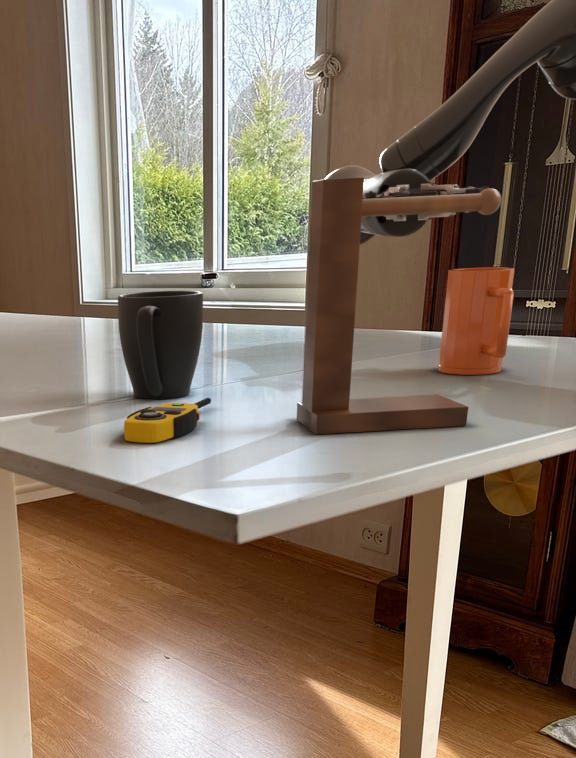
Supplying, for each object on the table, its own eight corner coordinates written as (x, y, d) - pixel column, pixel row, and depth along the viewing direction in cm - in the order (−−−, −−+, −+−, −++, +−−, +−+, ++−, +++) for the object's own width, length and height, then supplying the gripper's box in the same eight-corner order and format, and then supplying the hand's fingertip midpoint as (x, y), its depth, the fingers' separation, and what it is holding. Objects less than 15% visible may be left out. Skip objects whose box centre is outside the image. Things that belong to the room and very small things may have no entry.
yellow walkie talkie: (110, 417, 72) (184, 386, 84) (111, 441, 73) (185, 407, 85) (166, 420, 70) (234, 388, 82) (167, 445, 71) (234, 409, 83)
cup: (429, 368, 100) (438, 269, 96) (484, 365, 100) (497, 266, 96) (468, 381, 90) (481, 273, 86) (530, 378, 91) (545, 270, 87)
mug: (100, 408, 86) (96, 301, 82) (132, 387, 97) (129, 291, 93) (186, 409, 84) (185, 299, 80) (209, 387, 95) (209, 289, 91)
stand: (458, 410, 78) (485, 173, 70) (490, 424, 72) (523, 168, 65) (296, 420, 77) (306, 182, 70) (315, 434, 72) (329, 177, 64)
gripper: (338, 173, 113) (382, 165, 99) (451, 167, 114) (512, 159, 99) (334, 239, 117) (376, 240, 102) (444, 233, 117) (502, 234, 102)
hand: (443, 200), depth 100 cm, fingers open, 8 cm apart
